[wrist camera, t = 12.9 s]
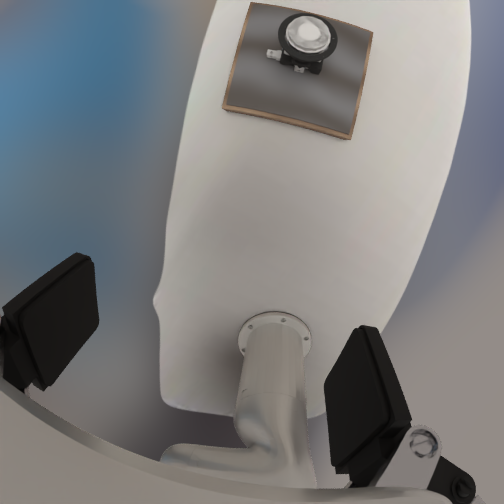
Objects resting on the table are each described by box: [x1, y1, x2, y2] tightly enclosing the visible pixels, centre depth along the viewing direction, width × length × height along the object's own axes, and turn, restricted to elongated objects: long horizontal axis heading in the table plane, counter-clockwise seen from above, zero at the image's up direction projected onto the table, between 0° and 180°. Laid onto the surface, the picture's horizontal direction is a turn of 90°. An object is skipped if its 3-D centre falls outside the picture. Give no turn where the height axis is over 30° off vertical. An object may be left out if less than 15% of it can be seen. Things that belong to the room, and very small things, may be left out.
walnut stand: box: [222, 2, 373, 140], centre depth 28 cm, size 16×16×4 cm
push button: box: [267, 13, 338, 75], centre depth 22 cm, size 7×5×10 cm
